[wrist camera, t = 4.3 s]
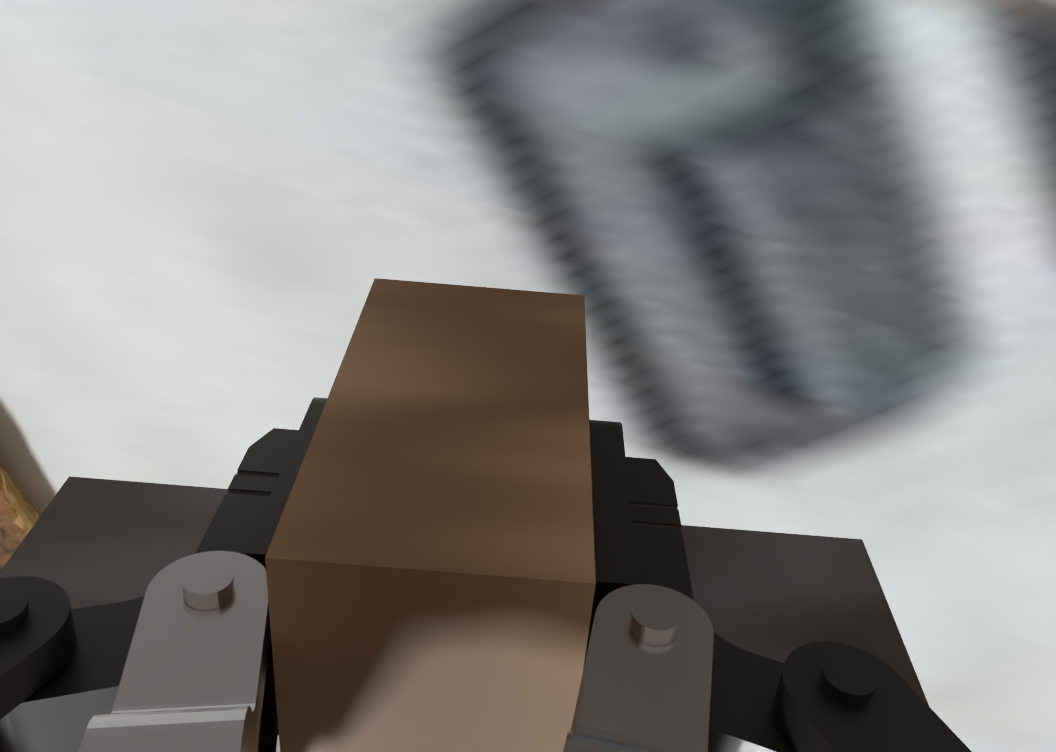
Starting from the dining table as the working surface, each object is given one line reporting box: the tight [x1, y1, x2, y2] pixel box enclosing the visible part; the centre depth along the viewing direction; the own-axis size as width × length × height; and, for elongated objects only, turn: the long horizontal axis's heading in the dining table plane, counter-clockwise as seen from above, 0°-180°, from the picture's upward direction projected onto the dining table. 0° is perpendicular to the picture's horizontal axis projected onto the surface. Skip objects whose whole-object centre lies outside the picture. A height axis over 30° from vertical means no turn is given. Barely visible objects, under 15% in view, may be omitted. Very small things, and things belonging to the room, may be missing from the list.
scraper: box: [0, 278, 929, 752], centre depth 13 cm, size 13×5×6 cm, turn 86°
